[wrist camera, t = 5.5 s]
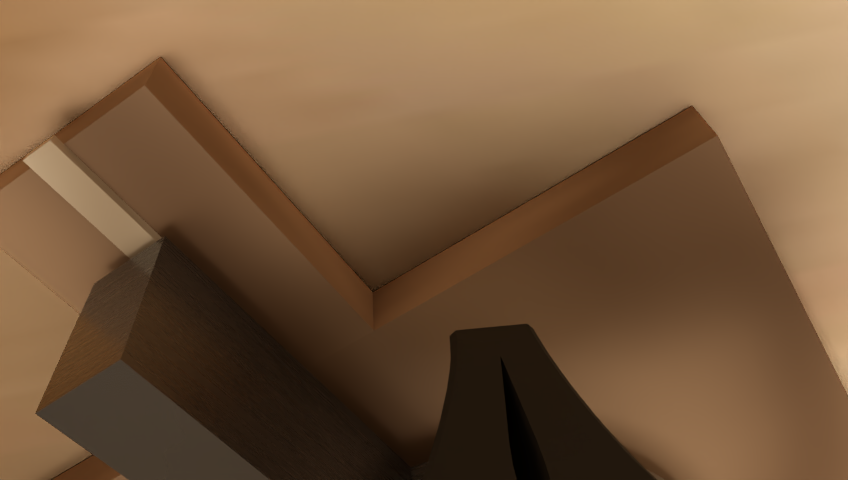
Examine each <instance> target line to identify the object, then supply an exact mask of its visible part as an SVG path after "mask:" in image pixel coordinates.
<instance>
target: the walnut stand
mask: <svg viewBox="0 0 848 480" xmlns="http://www.w3.org/2000/svg"><path fill="white" fill-rule="evenodd" d="M164 236H166V237H167V238H168V239H169V240H170V241H171V242H172V243H173V244H174V245H175V246H176V247H177V248H179V249H180V250H181V251H182V252H183V253H184V254H185V255H186V256H187V257H188V258H189V259H190V260H191V261H192V262H193V263H194V264H196V265H197V266H198V267H199V268H200V269H201V270H202V271H203V272H204V273H205V274H206V275H207V276H208V277H209V278H210V279H211V280H213V281H214V282H215V283H216V284H217V285H218V286H219V287H220V288H221V289H222V290H223V291H224V292H225V293H226V294H227V295H228V296H230V297H231V298H232V299H233V300H234V301H235V302H236V303H237V304H238V305H239V306H240V307H241V308H242V309H243V310H244V311H245V312H247V313H248V314H249V315H250V316H251V317H252V318H253V319H254V320H255V321H256V322H257V323H258V324H259V325H260V326H261V327H262V328H264V329H265V330H266V331H267V332H268V333H269V334H270V335H271V336H272V337H273V338H274V339H275V340H276V341H277V342H278V343H279V344H281V345H282V346H283V347H284V348H285V349H286V350H287V351H288V352H289V353H290V354H291V355H292V356H293V357H294V358H295V359H296V360H298V361H299V362H300V363H301V364H302V365H303V366H304V367H305V368H306V369H307V370H308V371H309V372H310V373H311V374H312V375H313V376H315V377H316V378H317V379H318V380H319V381H320V382H321V383H322V384H323V385H324V386H325V387H326V388H327V389H328V390H329V391H330V392H332V393H333V394H334V395H335V396H336V397H337V398H338V399H339V400H340V401H341V402H342V403H343V404H344V405H345V406H346V407H347V408H349V409H350V410H351V411H352V412H353V413H354V414H355V415H356V416H357V417H358V418H359V419H360V420H361V421H362V422H363V423H364V424H366V425H367V426H368V427H369V428H370V429H371V430H372V431H373V432H374V433H375V434H376V435H377V436H378V437H379V438H380V439H381V440H383V441H384V442H385V443H386V444H387V445H388V446H389V447H390V448H391V449H392V450H393V451H394V452H395V453H396V454H397V455H398V456H400V457H401V458H402V459H403V460H404V461H405V462H406V463H407V464H408V465H409V466H410V467H412V466H415V465H418V464H421V463H424V462H427V461H428V459H429V456H430V453H431V449H432V446H433V443H434V440H435V436H436V433H437V430H438V426H439V422H440V418H441V414H442V409H443V404H444V400H445V395H446V391H447V385H448V378H449V371H450V359H451V354H450V337H449V336H450V335H451V334H452V333H453V332H454V331H456V330H464V329H474V328H485V327H496V326H507V325H517V324H528V325H530V326H531V327H532V328H533V329H534V330H535V332H536V334H537V336H538V337H539V339H540V341H541V342H542V344H543V345H544V347H545V348H546V350H547V352H548V353H549V355H550V356H551V357H552V359H553V360H554V362H555V363H556V365H557V366H558V367H559V369H560V370H561V372H562V373H563V374H564V376H565V377H566V379H567V380H568V381H569V383H570V384H571V385H572V386H573V388H574V389H575V390H576V392H577V393H578V394H579V395H580V397H581V398H582V399H583V400H584V401H585V403H586V404H587V405H588V406H589V408H590V409H591V410H592V411H593V413H594V414H595V415H596V416H597V417H598V418H599V420H600V421H601V422H602V423H603V424H604V425H605V427H606V428H607V429H608V430H609V431H610V432H611V433H612V434H613V435H614V436H615V438H616V439H617V440H618V441H619V442H620V443H621V444H622V445H623V446H624V447H625V448H626V449H627V450H628V452H629V453H630V454H631V455H632V456H633V457H634V458H635V459H636V460H637V461H638V462H639V463H640V464H641V465H642V466H643V467H644V468H645V469H647V470H649V471H650V472H652V473H654V474H656V475H658V476H660V477H661V478H663V479H664V480H848V395H847V393H846V391H845V389H844V387H843V385H842V383H841V381H840V379H839V377H838V375H837V373H836V371H835V369H834V367H833V365H832V363H831V361H830V359H829V357H828V355H827V353H826V351H825V349H824V347H823V345H822V343H821V341H820V339H819V337H818V335H817V333H816V331H815V329H814V327H813V325H812V323H811V321H810V319H809V317H808V315H807V313H806V311H805V309H804V307H803V305H802V303H801V301H800V299H799V297H798V295H797V293H796V291H795V289H794V287H793V285H792V283H791V281H790V279H789V277H788V275H787V273H786V271H785V269H784V267H783V265H782V263H781V261H780V259H779V257H778V255H777V253H776V251H775V249H774V247H773V245H772V243H771V241H770V239H769V237H768V235H767V233H766V231H765V229H764V227H763V225H762V223H761V221H760V219H759V217H758V215H757V213H756V211H755V209H754V207H753V205H752V203H751V201H750V199H749V197H748V195H747V193H746V191H745V189H744V187H743V185H742V183H741V181H740V179H739V177H738V175H737V173H736V171H735V169H734V167H733V165H732V163H731V161H730V159H729V157H728V155H727V153H726V151H725V149H724V147H723V145H722V143H721V141H720V139H719V137H718V135H717V134H716V133H715V132H714V131H713V130H712V128H711V127H710V126H709V125H708V124H707V123H706V121H705V120H704V119H703V118H702V117H701V116H700V114H699V113H698V112H697V111H696V110H695V108H694V107H693V106H691V107H689V108H688V109H686V110H684V111H683V112H681V113H679V114H678V115H676V116H674V117H672V118H671V119H669V120H667V121H666V122H664V123H662V124H660V125H659V126H657V127H655V128H654V129H652V130H650V131H648V132H647V133H645V134H643V135H642V136H640V137H638V138H636V139H635V140H633V141H631V142H630V143H628V144H626V145H624V146H623V147H621V148H619V149H618V150H616V151H614V152H612V153H611V154H609V155H607V156H606V157H604V158H602V159H600V160H599V161H597V162H595V163H594V164H592V165H590V166H588V167H587V168H585V169H583V170H582V171H580V172H578V173H576V174H575V175H573V176H571V177H570V178H568V179H566V180H564V181H563V182H561V183H559V184H558V185H556V186H554V187H552V188H551V189H549V190H547V191H546V192H544V193H542V194H540V195H539V196H537V197H535V198H534V199H532V200H530V201H528V202H527V203H525V204H523V205H522V206H520V207H518V208H516V209H515V210H513V211H511V212H510V213H508V214H506V215H504V216H503V217H501V218H499V219H498V220H496V221H494V222H492V223H491V224H489V225H487V226H486V227H484V228H482V229H480V230H479V231H477V232H475V233H474V234H472V235H470V236H468V237H467V238H465V239H463V240H462V241H460V242H458V243H456V244H455V245H453V246H451V247H450V248H448V249H446V250H444V251H443V252H441V253H439V254H438V255H436V256H434V257H432V258H431V259H429V260H427V261H426V262H424V263H422V264H420V265H419V266H417V267H415V268H414V269H412V270H410V271H408V272H407V273H405V274H403V275H402V276H400V277H398V278H396V279H395V280H393V281H391V282H390V283H388V284H386V285H384V286H383V287H381V288H379V289H378V290H376V291H374V292H372V291H371V290H370V289H369V288H368V287H367V286H366V285H365V283H364V282H363V281H362V280H361V279H360V278H359V277H358V276H357V275H356V273H355V272H354V271H353V270H352V269H351V268H350V267H349V266H348V265H347V263H346V262H345V261H344V260H343V259H342V258H341V257H340V256H339V255H338V253H337V252H336V251H335V250H334V249H333V248H332V247H331V246H330V245H329V243H328V242H327V241H326V240H325V239H324V238H323V237H322V236H321V235H320V233H319V232H318V231H317V230H316V229H315V228H314V227H313V226H312V225H311V224H310V222H309V221H308V220H307V219H306V218H305V217H304V216H303V215H302V214H301V212H300V211H299V210H298V209H297V208H296V207H295V206H294V205H293V204H292V202H291V201H290V200H289V199H288V198H287V197H286V196H285V195H284V194H283V192H282V191H281V190H280V189H279V188H278V187H277V186H276V185H275V184H274V182H273V181H272V180H271V179H270V178H269V177H268V176H267V175H266V174H265V172H264V171H263V170H262V169H261V168H260V167H259V166H258V165H257V164H256V162H255V161H254V160H253V159H252V158H251V157H250V156H249V155H248V154H247V153H246V151H245V150H244V149H243V148H242V147H241V146H240V145H239V144H238V143H237V141H236V140H235V139H234V138H233V137H232V136H231V135H230V134H229V133H228V131H227V130H226V129H225V128H224V127H223V126H222V125H221V124H220V123H219V121H218V120H217V119H216V118H215V117H214V116H213V115H212V114H211V113H210V111H209V110H208V109H207V108H206V107H205V106H204V105H203V104H202V103H201V101H200V100H199V99H198V98H197V97H196V96H195V95H194V94H193V93H192V91H191V90H190V89H189V88H188V87H187V86H186V85H185V84H184V83H183V82H182V80H181V79H180V78H179V77H178V76H177V75H176V74H175V73H174V72H173V70H172V69H171V68H170V67H169V66H168V65H167V64H166V63H165V62H164V60H163V59H162V58H161V57H160V58H158V59H157V60H156V61H154V62H153V63H152V64H150V65H149V66H148V67H146V68H145V69H143V70H142V71H141V72H139V73H138V74H137V75H135V76H134V77H133V78H131V79H130V80H128V81H127V82H126V83H124V84H123V85H122V86H120V87H119V88H118V89H116V90H115V91H113V92H112V93H111V94H109V95H108V96H107V97H105V98H104V99H103V100H101V101H100V102H98V103H97V104H96V105H94V106H93V107H92V108H90V109H89V110H87V111H86V112H85V113H83V114H82V115H81V116H79V117H78V118H77V119H75V120H74V121H72V122H71V123H70V124H68V125H67V126H66V127H64V128H63V129H62V130H60V131H59V132H57V133H56V134H55V135H53V136H51V137H50V138H49V139H47V140H46V141H45V142H43V143H42V144H41V145H39V146H38V147H36V148H35V149H34V150H32V151H31V152H30V153H28V154H27V155H26V156H25V157H23V158H22V159H21V160H19V161H18V162H17V163H15V164H14V165H12V166H11V167H10V168H8V169H7V170H6V171H4V172H3V173H2V174H0V248H1V249H2V250H3V251H4V252H6V253H7V254H8V255H9V256H10V257H12V258H13V259H14V260H15V261H16V262H18V263H19V264H20V265H21V266H22V267H24V268H25V269H26V270H27V271H28V272H30V273H31V274H32V275H33V276H34V277H36V278H37V279H38V280H39V281H40V282H42V283H43V284H44V285H45V286H46V287H48V288H49V289H50V290H51V291H52V292H54V293H55V294H56V295H57V296H58V297H60V298H61V299H62V300H63V301H64V302H66V303H67V304H68V305H69V306H70V307H72V308H73V309H74V310H75V311H77V312H78V313H79V314H81V311H82V309H83V307H84V305H85V303H86V300H87V298H88V296H89V294H90V292H91V289H92V287H93V285H94V283H96V282H97V281H99V280H100V279H102V278H103V277H105V276H106V275H108V274H109V273H111V272H112V271H113V270H115V269H116V268H118V267H119V266H121V265H122V264H124V263H125V262H127V261H128V260H130V259H131V258H133V257H134V256H136V255H137V254H139V253H140V252H142V251H143V250H145V249H146V248H148V247H149V246H151V245H152V244H154V243H155V242H156V241H158V240H159V239H161V238H162V237H164ZM52 480H128V479H127V478H125V477H124V476H122V475H121V474H120V473H118V472H117V471H115V470H114V469H113V468H111V467H110V466H108V465H107V464H106V463H104V462H103V461H101V460H100V459H99V458H97V457H96V456H94V455H93V456H91V457H90V458H88V459H86V460H84V461H83V462H81V463H79V464H78V465H76V466H74V467H72V468H71V469H69V470H67V471H66V472H64V473H62V474H60V475H59V476H57V477H55V478H54V479H52Z"/></svg>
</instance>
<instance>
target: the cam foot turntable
mask: <svg viewBox="0 0 848 480" xmlns="http://www.w3.org/2000/svg"><path fill="white" fill-rule="evenodd" d="M35 414H37V415H38V416H40V417H41V418H42V419H44V420H45V421H47V422H48V423H49V424H51V425H52V426H54V427H55V428H56V429H58V430H59V431H61V432H62V433H63V434H65V435H66V436H68V437H69V438H71V439H72V440H73V441H75V442H76V443H78V444H79V445H80V446H82V447H83V448H85V449H86V450H87V451H89V452H90V453H92V454H93V455H94V456H96V457H97V458H99V459H100V460H101V461H103V462H104V463H106V464H107V465H108V466H110V467H111V468H113V469H114V470H115V471H117V472H118V473H120V474H121V475H122V476H124V477H125V478H127V479H128V480H421V479H422V477H423V474H424V471H425V468H426V465H427V462H428V461H427V462H424V463H421V464H418V465H415V466H412V467H410V466H409V465H408V464H407V463H406V462H405V461H404V460H403V459H402V458H401V457H400V456H398V455H397V454H396V453H395V452H394V451H393V450H392V449H391V448H390V447H389V446H388V445H387V444H386V443H385V442H384V441H383V440H381V439H380V438H379V437H378V436H377V435H376V434H375V433H374V432H373V431H372V430H371V429H370V428H369V427H368V426H367V425H366V424H364V423H363V422H362V421H361V420H360V419H359V418H358V417H357V416H356V415H355V414H354V413H353V412H352V411H351V410H350V409H349V408H347V407H346V406H345V405H344V404H343V403H342V402H341V401H340V400H339V399H338V398H337V397H336V396H335V395H334V394H333V393H332V392H330V391H329V390H328V389H327V388H326V387H325V386H324V385H323V384H322V383H321V382H320V381H319V380H318V379H317V378H316V377H315V376H313V375H312V374H311V373H310V372H309V371H308V370H307V369H306V368H305V367H304V366H303V365H302V364H301V363H300V362H299V361H298V360H296V359H295V358H294V357H293V356H292V355H291V354H290V353H289V352H288V351H287V350H286V349H285V348H284V347H283V346H282V345H281V344H279V343H278V342H277V341H276V340H275V339H274V338H273V337H272V336H271V335H270V334H269V333H268V332H267V331H266V330H265V329H264V328H262V327H261V326H260V325H259V324H258V323H257V322H256V321H255V320H254V319H253V318H252V317H251V316H250V315H249V314H248V313H247V312H245V311H244V310H243V309H242V308H241V307H240V306H239V305H238V304H237V303H236V302H235V301H234V300H233V299H232V298H231V297H230V296H228V295H227V294H226V293H225V292H224V291H223V290H222V289H221V288H220V287H219V286H218V285H217V284H216V283H215V282H214V281H213V280H211V279H210V278H209V277H208V276H207V275H206V274H205V273H204V272H203V271H202V270H201V269H200V268H199V267H198V266H197V265H196V264H194V263H193V262H192V261H191V260H190V259H189V258H188V257H187V256H186V255H185V254H184V253H183V252H182V251H181V250H180V249H179V248H177V247H176V246H175V245H174V244H173V243H172V242H171V241H170V240H169V239H168V238H167V237H166V236H164V237H162V238H161V239H159V240H158V241H156V242H155V243H154V244H152V245H151V246H149V247H148V248H146V249H145V250H143V251H142V252H140V253H139V254H137V255H136V256H134V257H133V258H131V259H130V260H128V261H127V262H125V263H124V264H122V265H121V266H119V267H118V268H116V269H115V270H113V271H112V272H111V273H109V274H108V275H106V276H105V277H103V278H102V279H100V280H99V281H97V282H96V283H94V285H93V287H92V289H91V292H90V294H89V296H88V298H87V300H86V303H85V305H84V307H83V309H82V311H81V314H80V316H79V318H78V320H77V322H76V325H75V327H74V329H73V331H72V333H71V336H70V338H69V340H68V342H67V345H66V347H65V349H64V351H63V353H62V356H61V358H60V360H59V362H58V364H57V367H56V369H55V371H54V373H53V375H52V378H51V380H50V382H49V384H48V386H47V389H46V391H45V393H44V395H43V397H42V400H41V402H40V404H39V406H38V409H37V411H36V413H35ZM646 470H647V469H646ZM647 471H649V470H647ZM649 472H650V471H649ZM650 473H651V474H652V475H653V476H654V477H655V478H656V479H657V480H664V479H663V478H661V477H660V476H658V475H656V474H654V473H652V472H650Z"/></svg>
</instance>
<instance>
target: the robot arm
mask: <svg viewBox="0 0 848 480" xmlns="http://www.w3.org/2000/svg"><path fill="white" fill-rule="evenodd" d="M449 337H450V354H451V359H450V371H449V378H448V385H447V391H446V395H445V400H444V404H443V409H442V414H441V418H440V422H439V426H438V430H437V433H436V436H435V440H434V443H433V446H432V449H431V453H430V456H429V459H428V462H427V465H426V468H425V471H424V474H423V477H422V479H421V480H657V479H656V478H655V477H654V476H653V475H652V474H651V473H650V472H649V471H647V470H646V469H645V468H644V467H643V466H642V465H641V464H640V463H639V462H638V461H637V460H636V459H635V458H634V457H633V456H632V455H631V454H630V453H629V452H628V450H627V449H626V448H625V447H624V446H623V445H622V444H621V443H620V442H619V441H618V440H617V439H616V438H615V436H614V435H613V434H612V433H611V432H610V431H609V430H608V429H607V428H606V427H605V425H604V424H603V423H602V422H601V421H600V420H599V418H598V417H597V416H596V415H595V414H594V413H593V411H592V410H591V409H590V408H589V406H588V405H587V404H586V403H585V401H584V400H583V399H582V398H581V397H580V395H579V394H578V393H577V392H576V390H575V389H574V388H573V386H572V385H571V384H570V383H569V381H568V380H567V379H566V377H565V376H564V374H563V373H562V372H561V370H560V369H559V367H558V366H557V365H556V363H555V362H554V360H553V359H552V357H551V356H550V355H549V353H548V352H547V350H546V348H545V347H544V345H543V344H542V342H541V341H540V339H539V337H538V336H537V334H536V332H535V330H534V329H533V328H532V327H531V326H530V325H528V324H517V325H507V326H496V327H485V328H474V329H464V330H456V331H454V332H453V333H452V334H451V335H450V336H449Z"/></svg>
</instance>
